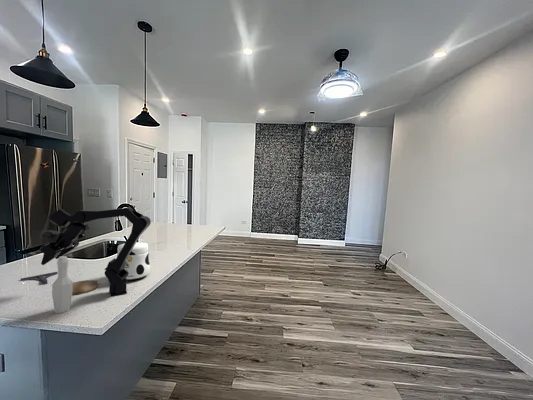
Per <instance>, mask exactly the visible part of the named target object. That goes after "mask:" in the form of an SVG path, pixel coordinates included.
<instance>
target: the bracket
mask: <svg viewBox="0 0 533 400" xmlns="http://www.w3.org/2000/svg"><path fill="white" fill-rule="evenodd" d="M55 275H58V271H54V272H48V273H43V274H37V275H32V276H27V277H21V278H20V281H21V282H23V281H24V282H25V281H40V282H41V283H42V284H43V285H47V284H48V278H51V277H53V276H55Z"/></svg>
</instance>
